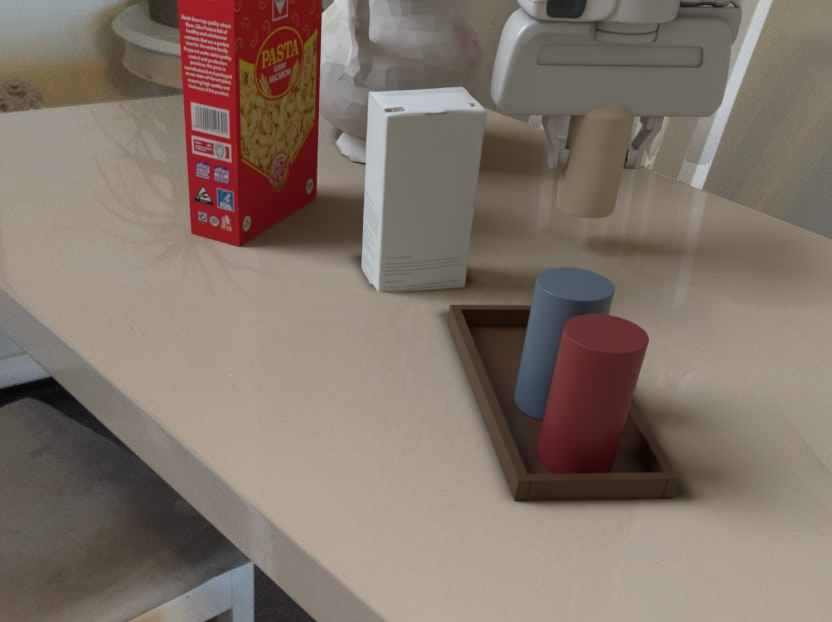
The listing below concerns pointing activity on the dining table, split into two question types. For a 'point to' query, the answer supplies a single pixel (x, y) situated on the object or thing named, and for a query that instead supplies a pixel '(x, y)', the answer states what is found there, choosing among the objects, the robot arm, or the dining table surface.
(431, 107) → the cosmetic box
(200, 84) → the food packaging
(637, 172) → the dining table surface
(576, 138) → the candle
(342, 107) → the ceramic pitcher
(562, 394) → the burgundy candle
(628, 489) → the tray
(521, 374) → the slate candle
